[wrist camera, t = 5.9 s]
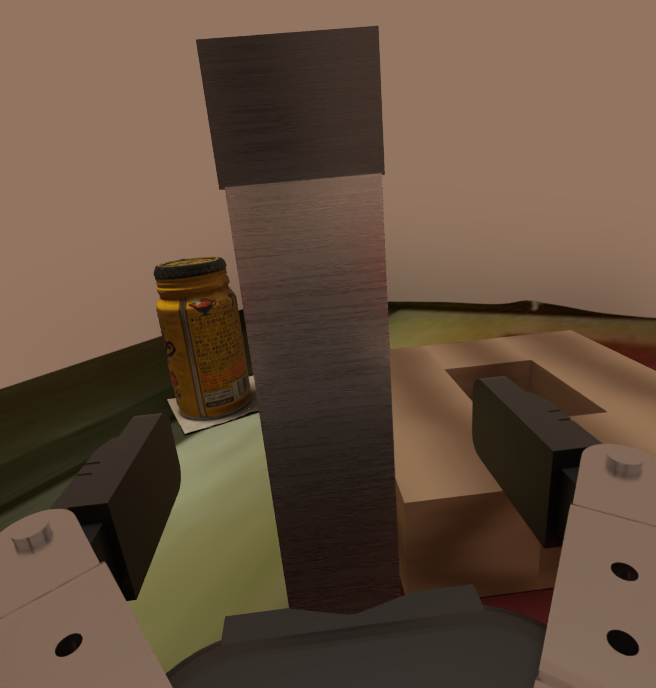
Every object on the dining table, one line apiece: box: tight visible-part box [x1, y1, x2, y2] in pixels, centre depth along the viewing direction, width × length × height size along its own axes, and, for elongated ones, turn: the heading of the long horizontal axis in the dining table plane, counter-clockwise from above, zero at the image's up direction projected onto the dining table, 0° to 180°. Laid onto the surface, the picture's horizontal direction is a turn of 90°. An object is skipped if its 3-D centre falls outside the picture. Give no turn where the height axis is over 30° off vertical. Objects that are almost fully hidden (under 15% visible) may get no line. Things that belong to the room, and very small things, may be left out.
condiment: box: [154, 257, 259, 434], centre depth 35 cm, size 7×8×12 cm
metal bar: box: [196, 26, 401, 615], centre depth 10 cm, size 3×4×18 cm, turn 4°
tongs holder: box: [390, 330, 656, 597], centre depth 25 cm, size 16×16×5 cm
